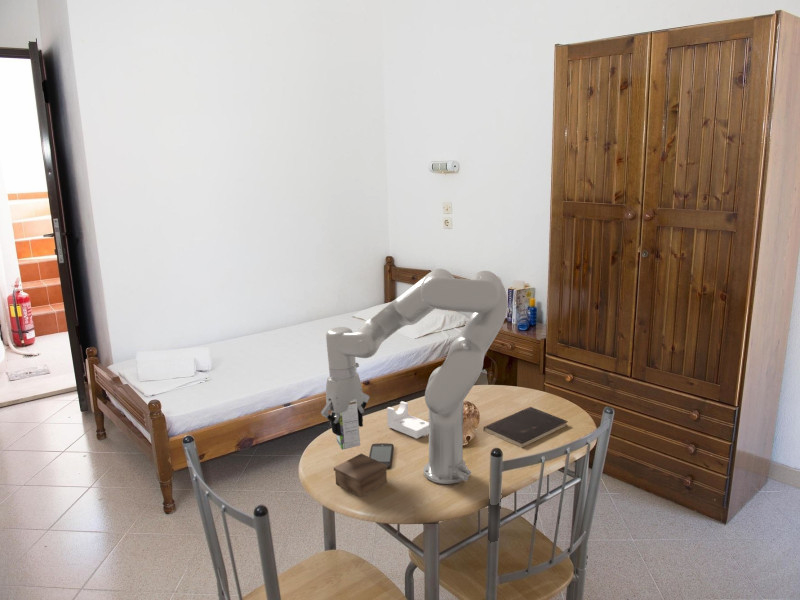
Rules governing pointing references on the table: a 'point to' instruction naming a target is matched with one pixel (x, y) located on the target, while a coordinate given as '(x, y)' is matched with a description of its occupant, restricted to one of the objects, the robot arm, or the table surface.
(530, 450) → the table surface
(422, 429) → the bracket
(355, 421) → the syrup box
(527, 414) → the hardcover book
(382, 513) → the table surface
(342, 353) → the robot arm
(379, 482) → the walnut box
